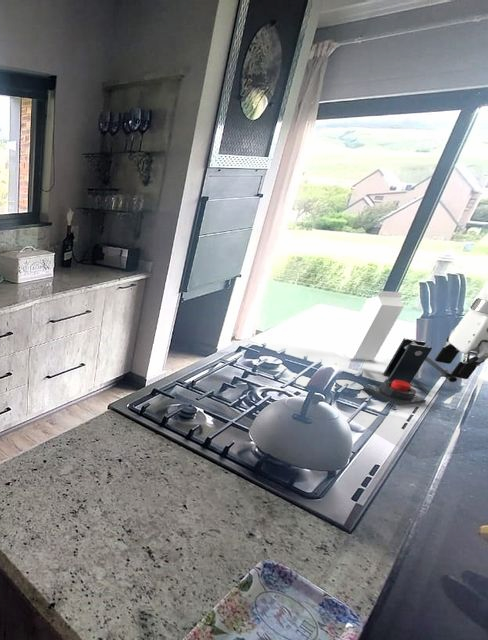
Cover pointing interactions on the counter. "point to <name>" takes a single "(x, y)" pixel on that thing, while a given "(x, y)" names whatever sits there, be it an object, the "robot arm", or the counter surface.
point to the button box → (396, 394)
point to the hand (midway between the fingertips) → (450, 369)
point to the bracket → (407, 360)
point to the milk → (373, 325)
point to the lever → (438, 367)
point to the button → (401, 385)
